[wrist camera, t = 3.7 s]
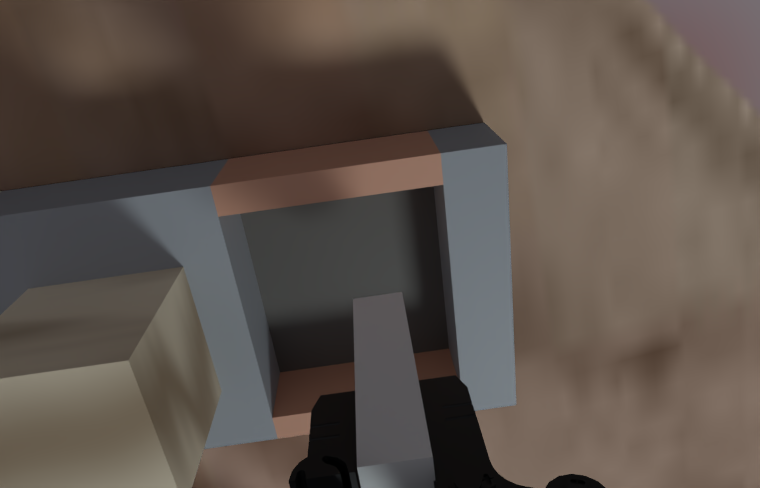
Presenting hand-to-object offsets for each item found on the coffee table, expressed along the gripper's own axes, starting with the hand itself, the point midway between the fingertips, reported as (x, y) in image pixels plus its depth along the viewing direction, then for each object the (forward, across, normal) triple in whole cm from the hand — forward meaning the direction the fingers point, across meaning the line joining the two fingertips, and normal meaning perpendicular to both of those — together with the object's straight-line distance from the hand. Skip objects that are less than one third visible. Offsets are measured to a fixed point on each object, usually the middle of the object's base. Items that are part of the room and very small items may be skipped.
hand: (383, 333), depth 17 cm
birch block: (+2, +8, 0) cm, 9 cm away
